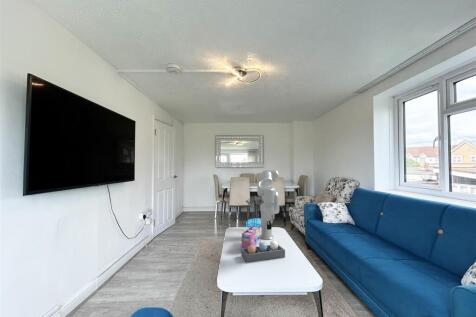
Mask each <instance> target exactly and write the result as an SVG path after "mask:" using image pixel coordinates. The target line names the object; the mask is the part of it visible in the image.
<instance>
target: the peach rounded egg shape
mask: <svg viewBox="0 0 476 317" xmlns="http://www.w3.org/2000/svg"><path fill="white" fill-rule="evenodd" d="M252 253H255V246H253V245H250V246H248V254H252Z"/></svg>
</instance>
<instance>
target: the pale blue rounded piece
mask: <svg viewBox="0 0 476 317" xmlns="http://www.w3.org/2000/svg"><path fill="white" fill-rule="evenodd" d="M267 245H268V244H267V243H266V242H265V241H263V242H262V241H261V243H259V245H258V246H259V251H260V252H267Z"/></svg>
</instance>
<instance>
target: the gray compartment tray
mask: <svg viewBox="0 0 476 317" xmlns="http://www.w3.org/2000/svg"><path fill="white" fill-rule="evenodd" d="M240 256H241V258H242V257H243V258H242V259H243V261H245V263H247V264H248V263H255V262H261V261H269V260H276V259H283V258H284V259H285V258H286V249H285V248H284V247H283V246H281V245H280V244H278V250H275V251H271V250H270V244H267V252H260V251H259V245H258V246H257V247H255V253H252V254H248V248H242V247H241V248H240Z"/></svg>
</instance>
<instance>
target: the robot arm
mask: <svg viewBox="0 0 476 317" xmlns="http://www.w3.org/2000/svg"><path fill="white" fill-rule="evenodd" d="M279 177H280V174H279V171H278V170H276V169H264V170H263V171H262V172H260V173H259V174H258V180H259V181H258V183H257V186H256V187H257V189H256V190H257V196H259V197H261V201H262V200H263V201H264V203H263V204H262V203H261V204H260V205H261V206H259V208H260V209H259V211H260V226H261V227H260V239H262V240H272V239H274V235H272V233H273V232H272V225H273V223H274V220H275V215H276V214H279V213H280V196H279V193H278V192H277V190H276V188H275V187H274V186H271V185H272V184H273V183H277V181H278V179H279Z"/></svg>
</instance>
